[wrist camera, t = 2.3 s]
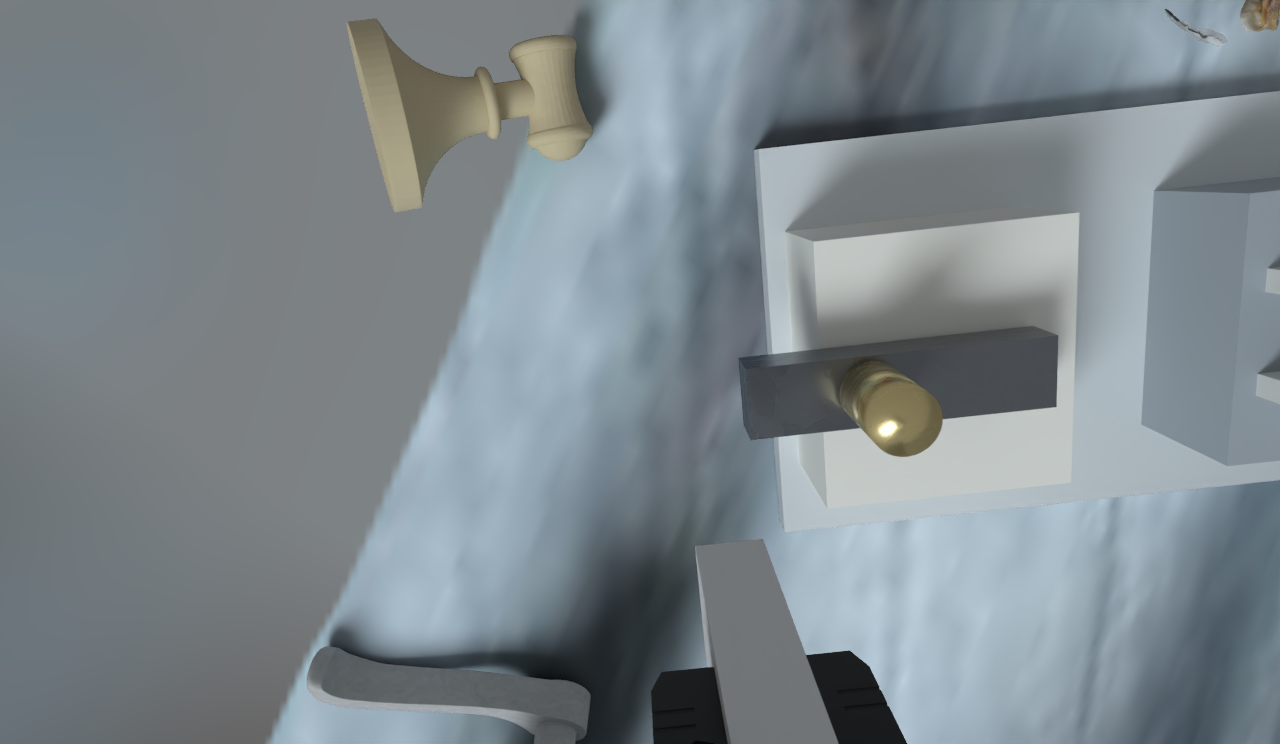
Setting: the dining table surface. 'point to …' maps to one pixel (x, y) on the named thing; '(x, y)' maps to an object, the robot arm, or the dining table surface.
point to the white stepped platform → (1040, 300)
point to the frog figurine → (1254, 17)
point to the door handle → (452, 693)
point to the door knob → (461, 106)
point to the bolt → (899, 386)
